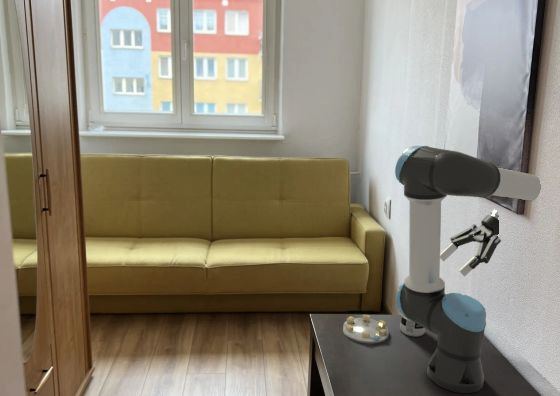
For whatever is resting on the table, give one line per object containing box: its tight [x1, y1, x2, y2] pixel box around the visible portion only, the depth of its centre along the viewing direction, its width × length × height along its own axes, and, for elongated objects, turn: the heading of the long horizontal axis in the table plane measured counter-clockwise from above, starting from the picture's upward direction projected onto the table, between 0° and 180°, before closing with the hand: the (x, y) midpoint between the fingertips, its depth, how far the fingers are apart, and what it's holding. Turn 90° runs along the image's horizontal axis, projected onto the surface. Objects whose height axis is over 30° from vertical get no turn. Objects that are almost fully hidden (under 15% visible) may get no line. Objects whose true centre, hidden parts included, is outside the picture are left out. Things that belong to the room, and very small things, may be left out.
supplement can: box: [399, 313, 426, 338], centre depth 162 cm, size 8×8×15 cm
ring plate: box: [342, 314, 390, 345], centre depth 161 cm, size 15×15×3 cm
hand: (450, 265), depth 161 cm, fingers open, 13 cm apart
